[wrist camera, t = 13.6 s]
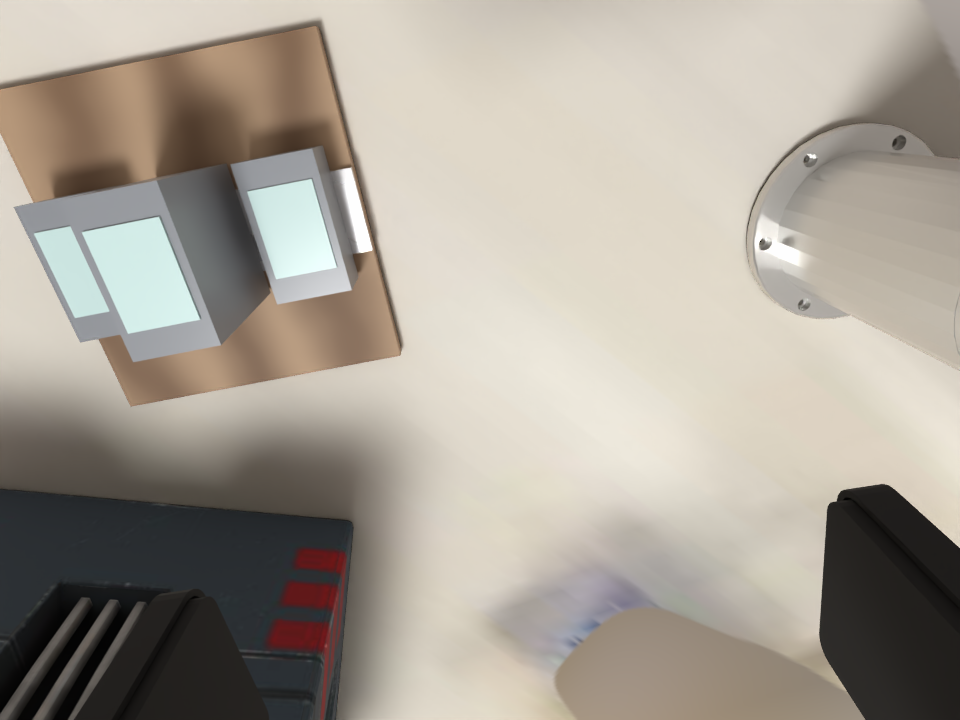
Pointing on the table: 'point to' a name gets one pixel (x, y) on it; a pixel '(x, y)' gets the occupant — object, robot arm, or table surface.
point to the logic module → (170, 259)
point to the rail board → (258, 183)
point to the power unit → (162, 569)
